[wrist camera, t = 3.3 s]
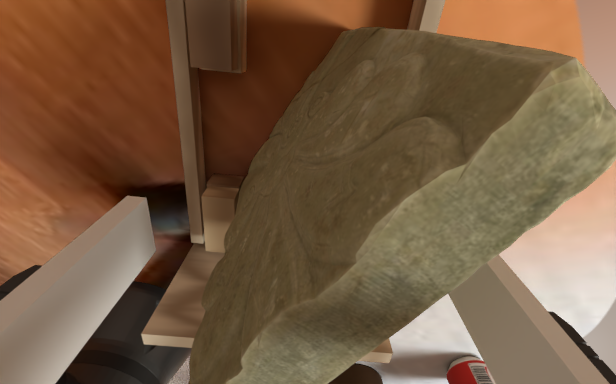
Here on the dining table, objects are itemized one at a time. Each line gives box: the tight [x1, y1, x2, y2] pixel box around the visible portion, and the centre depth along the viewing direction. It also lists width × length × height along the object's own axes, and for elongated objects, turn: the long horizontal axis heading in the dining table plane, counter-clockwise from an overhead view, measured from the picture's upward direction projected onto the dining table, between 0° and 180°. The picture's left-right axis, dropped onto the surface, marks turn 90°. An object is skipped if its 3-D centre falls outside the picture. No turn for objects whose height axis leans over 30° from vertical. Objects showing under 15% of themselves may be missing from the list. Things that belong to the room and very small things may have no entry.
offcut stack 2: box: [201, 174, 244, 253], centre depth 28 cm, size 3×7×4 cm, turn 174°
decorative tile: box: [189, 27, 616, 384], centre depth 17 cm, size 19×6×20 cm, turn 147°
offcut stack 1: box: [185, 0, 247, 74], centre depth 20 cm, size 3×7×4 cm, turn 174°
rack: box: [141, 0, 445, 363], centre depth 21 cm, size 19×27×12 cm
